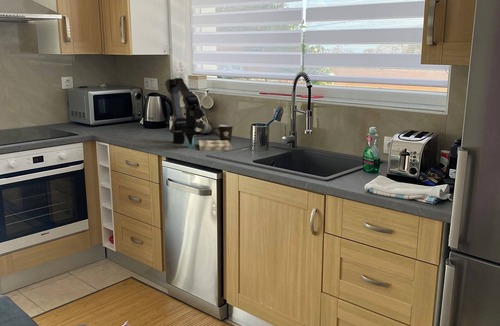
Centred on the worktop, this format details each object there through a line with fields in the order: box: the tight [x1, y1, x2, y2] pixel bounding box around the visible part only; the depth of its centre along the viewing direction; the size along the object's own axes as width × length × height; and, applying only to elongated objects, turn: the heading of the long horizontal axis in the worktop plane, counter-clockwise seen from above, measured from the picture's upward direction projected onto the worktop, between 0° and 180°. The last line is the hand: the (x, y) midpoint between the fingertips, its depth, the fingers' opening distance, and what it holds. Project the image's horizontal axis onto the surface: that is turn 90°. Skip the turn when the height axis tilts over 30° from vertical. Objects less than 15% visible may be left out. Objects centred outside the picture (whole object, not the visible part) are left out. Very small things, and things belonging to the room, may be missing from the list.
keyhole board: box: [198, 139, 232, 151], centre depth 293 cm, size 18×18×2 cm
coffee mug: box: [212, 124, 234, 143], centre depth 313 cm, size 12×9×10 cm
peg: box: [186, 135, 195, 149], centre depth 291 cm, size 5×5×9 cm
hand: (190, 143), depth 291 cm, fingers closed on peg, 4 cm apart
